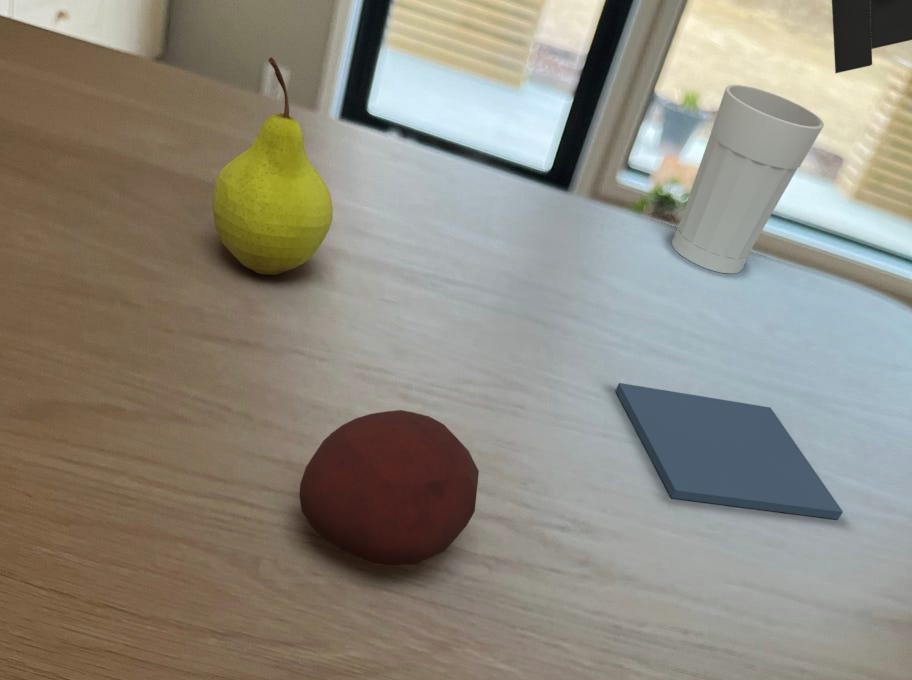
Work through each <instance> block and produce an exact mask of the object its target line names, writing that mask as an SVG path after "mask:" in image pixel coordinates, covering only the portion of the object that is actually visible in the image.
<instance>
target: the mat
mask: <svg viewBox="0 0 912 680" xmlns="http://www.w3.org/2000/svg"><path fill="white" fill-rule="evenodd" d="M615 392H616V394H617V397H618V398H619V401H620V402H621V404H622V406H623V408H624V409H625V411H626V413H627V416H628V417H629V420H630V421H631V423H632V425H633V427H634V429H635V431H636V433H637V435H638V436H639V438H640V440H641V442H642V444H643V446H644V448H645V450H646V452H647V454H648V456H649V458H650V459H651V461H652V463H653V465H654V467H655V469H656V471H657V473H658V475H659V477H660V479H661V481H662V483H663V485H664V487H665V488H666V490H667V493H668V494H669V496H670V498H671V499H676V500H684V501H691V502H699V503H706V504H715V505H723V506H730V507H739V508H745V509H754V510H762V511H770V512H778V513H784V514H792V515H800V516H807V517H816V518H824V519H832V520H839V519H840V517H841V516H842V514H843V513H844V512H843V510H842V508H841V506H840V505H839V503H838V502H837V501H836V499H835V498H834V497H833V495H832V494H831V492H830V491H829V490H828V488H827V487H826V484H824V482H823V480H822V479H821V478H820V476H819V475H818V474H817V472H816V470H815V469H814V468H813V466H812V465H811V464H810V462H809V461H808V459H807V458H806V456H805V455H804V453H803V452H802V450H801V449H800V448H799V446H798V445H797V443H796V442H795V440H794V439H793V437H792V436H791V435H790V433H789V432H788V430H787V429H786V428H785V426H784V425H783V423H782V422H781V421H780V419H779V418H778V416H777V415H776V413H775V412H774V411H773V410H774V409H772V408H771V407H770V406H763V405H758V404H752V403H745V402H739V401H732V400H727V399H722V398H721V399H720V398H714V397H710V396H709V397H708V396H703V395H697V394H690V393H684V392H677V391H672V390H667V389H660V388H654V387H647V386H642V385H636V384H635V385H634V384H628V383H624V382H623V383H622V382H619V383H618V384H617V386H616V389H615Z"/></svg>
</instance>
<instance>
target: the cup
mask: <svg viewBox="0 0 912 680" xmlns="http://www.w3.org/2000/svg"><path fill="white" fill-rule="evenodd" d="M824 126H825V124H824V122H823V119H821V118H820V117H819V116H818V115H816V114H815V113H814V112H812V111H811V110H809V109H807V108H805V106H802V105H800V104H798V103H796V102H794V101H791V100H790V99H788V98H785V97H782V96H780V95H777V94H775V93H773V92H769V91H766V90H764V89H760V88H756V87H752V86H748V85H742V84H729V85H727V86H726V87H725V89H724V92H723V94H722V98H721V100H720V104H719V107H718V110H717V113H716V116H715V119H714V122H713V125H712V128H711V131H710V135H709V137H708V141H707V144H706V147H705V149H704V151H703V154H702V157H701V161H700V163H699V167H698V169H697V172H696V174H695V177H694V178H695V179H694V181H693V183H692V186H691V189H690V193H689V196H688V198H687V201H686V203H685V207H684V209H683V212H682V214H681V218H680V221H679V224H678V226H677V229H676V231H675V232H674V235H673V238H672V240H671V246H672V248H673V249H674V250H675V251H676V252H677V253H678V254H679V255H680V256H682V257H683V258H684V259H685V260H688V261H690V262H691V263H693V264H695V265H697V266H700V267H701V268H705V269H707V270H710V271H714V272H716V273H717V272H718V273H722V274H738V273H741V272H742V270H743V268H744V266H745V265H746V262H747V260H748V258H749V257H750V253H751V251H752V249H753V248H754V246H755V244H756V242H757V240H758V239H759V237H760V235H761V233H762V232H763V230H764V229H765V226H766V224H767V223H768V222H769V219H770V218H771V215H772V214H773V212H774V210H775V209H776V207H777V205H778V203H779V202H780V200H781V198H782V196H783V195H784V193H785V191H786V190H787V187H788V186H789V184H790V182H792V179H793V177H794V175H795V173H796V172H797V170H798V169H799V168H800V167H801V166H802V163H804V160H805V159H806V157H807V155H808V153H809V152H810V150H811V148H812V147H813V145H814V143H815V141H816V140H817V138H818V136H819V134H821V132H822V130H823V128H824Z"/></svg>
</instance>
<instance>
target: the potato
mask: <svg viewBox="0 0 912 680" xmlns="http://www.w3.org/2000/svg"><path fill="white" fill-rule="evenodd" d="M473 458H474V457H473V456H472V455H471V452H470V450H469V449H468V448H467V447H466V446H465V445H464V444H463V443H462V441H460V440H459V438H458V437H457V436H456V435H455V434H454V433H453V432H452V431H451V430H450V429H449V428H448V427H447V426H446V425H445V424H444V423H442V422H441V421H439V420H437V419H434V417H431V416H429V415H427V414H422V413H417V412H413V411H408V410H402V409H398V410H389V411H388V410H387V411H379V412H374V413H369V414H366V415H362V416H358V417H355V418H353V419H351V420H350V421H347V422H346V423H344V424H342V425H340V426H339V427H337V429H335V430H334V431H332V432H331V433H330V434H329V435H328V436H327V437H326V438H324V439H323V440H322V442H321V444H320V445H319V447H318V448H317V449H316V450H315V452H314V454H313V455H312V457H311V459H310V460H309V461H308V463H307V464H306V466H305V469H304V472H303V475H302V478H301V480H300V483H299V502H300V510H301V513H302V515H303V516H304V518H305V519H306V521H307V522H308V524H309V526H310V527H311V528H312V529H313V530H314V532H315V533H316V534H317V535H318V536H319V538H321V539H323V541H326V542H327V543H329V544H330V545H332V546H333V547H335V548H336V549H338V550H339V551H341V552H343V553H346V554H349V555H350V556H353V557H355V558H357V559H360V560H363V561H365V562H367V563H369V564H374V565H375V564H376V565H381V566H385V567H386V566H387V567H388V566H389V567H399V566H400V567H401V566H414V565H415V566H416V565H419V564H420V563H422V562H425V561H427V560H430V559H433V558H434V557H436V556H438V555H440V554H442V553H444V552H445V551H446V550H447V549H448V548H449V547H450V546H451V545H452V543H453V542H454V541H455V540H456V539H457V538H458V537H459V536H460V534H461V533H462V532H463V531H464V530H465V529H466V527H467V526H468V524H469V523H470V520H471V519H472V517H473V515H474V514H475V511H476V504H477V494H478V484H479V475H480V471H479V469H478V467H477V464H476V463H475V461H474V459H473Z"/></svg>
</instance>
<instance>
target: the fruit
mask: <svg viewBox="0 0 912 680" xmlns="http://www.w3.org/2000/svg"><path fill="white" fill-rule="evenodd" d="M268 62H269V64H270V65H271V66H272V68H273V70H274V74H275V77H276V79H277V81H278V83H279V85H280V87H281V89H282V91H283V94H284V110H283V112H276V113H274V114H272V115H271V116H269V117H268V118H266V120H265V121H264V122H263V123H262V126H261V127H260V130H259V131H258V134H257V136H256V138H255V139H254V141H253V143H252V144H251V146H250V147H249V148H248V149H247V150H244V151H243V152H242V153H240V154H239V155H238V156H236V157H235V158H233V159H232V160H231V161H230V162H228V163H227V164H226V165H224V167H222V169H221V170H220V172H219V173H218V176H217V178H216V180H215V183H214V189H213V193H212V213H213V221H214V226H215V231H216V233H217V234H218V237H219V239H220V241H221V243H222V245H224V247H225V248H226V249H227V250H228V251H229V252H230V253H231V255H233V256H234V257H235V258H236V259H237V260H238V262H240V264H241V265H242V266H244V267H246V268H248V269H249V270H252V271H253V272H255V273H256V274H259V275H271V276H275V275H280V274H283V273H285V272H287V271H290V270H293V269H295V268H297V267H300V266H301V265H303V264H304V263H306V262H308V261H309V259H311V258H312V257H313V256H314V255H315V254H316V252H317V250H318V249H319V248H320V246H321V245H322V244H323V242H324V240H325V239H326V237H327V234H328V233H329V231H330V228H331V225H332V222H333V215H334V214H333V212H334V211H333V210H334V209H333V201H332V195H331V193H330V189H329V188H328V186H327V184H326V181H324V179H323V178H322V176H321V175H320V173H319V172H318V171H317V169H316V168H315V167H314V166H313V164H312V163H311V161H310V159H309V158H308V155H307V152H306V148H305V140H304V139H305V138H304V133H303V132H304V131H303V129H302V127H301V125H300V123H299V121H297V119H296V118H294V117H293V116H292V115H290V104H289V97H288V96H289V95H288V90H287V86H286V83H285V80H284V77H283V74H282V72H281V70H280V68H279V66H278V64H277V62H276V60H275V59H274V57H269V58H268Z"/></svg>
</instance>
